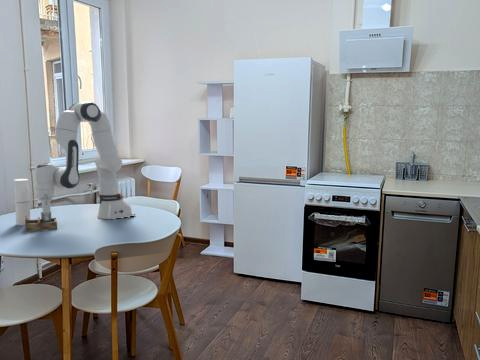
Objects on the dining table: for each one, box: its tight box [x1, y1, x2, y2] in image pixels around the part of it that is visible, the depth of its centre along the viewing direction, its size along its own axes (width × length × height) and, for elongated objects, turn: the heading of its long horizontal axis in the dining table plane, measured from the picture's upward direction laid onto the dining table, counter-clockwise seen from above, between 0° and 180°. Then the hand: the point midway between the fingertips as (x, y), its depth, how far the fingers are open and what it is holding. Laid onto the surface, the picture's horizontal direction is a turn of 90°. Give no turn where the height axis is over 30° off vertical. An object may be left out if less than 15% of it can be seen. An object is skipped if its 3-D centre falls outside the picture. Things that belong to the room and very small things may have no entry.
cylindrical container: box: [13, 178, 31, 226], centre depth 228 cm, size 7×7×25 cm
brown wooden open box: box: [24, 216, 58, 233], centre depth 220 cm, size 15×10×7 cm, turn 117°
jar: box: [40, 211, 52, 223], centre depth 220 cm, size 5×5×6 cm
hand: (46, 218), depth 221 cm, fingers closed on jar, 5 cm apart
